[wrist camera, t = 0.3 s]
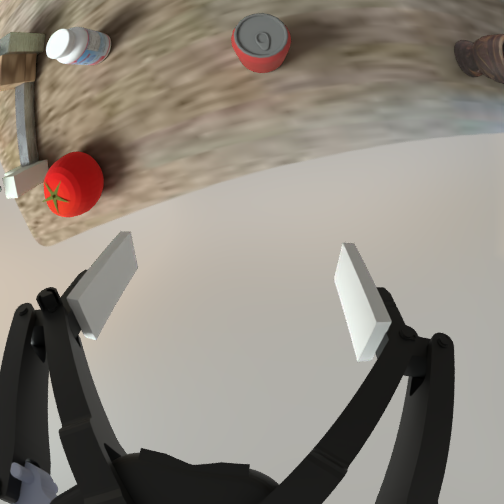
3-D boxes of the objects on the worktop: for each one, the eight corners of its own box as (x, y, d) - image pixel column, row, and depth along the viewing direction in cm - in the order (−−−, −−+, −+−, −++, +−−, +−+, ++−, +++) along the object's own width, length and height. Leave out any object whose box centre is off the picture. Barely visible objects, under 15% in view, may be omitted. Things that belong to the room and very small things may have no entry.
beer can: (245, 78, 34) (238, 68, 23) (233, 40, 30) (221, 17, 20) (290, 68, 32) (300, 55, 22) (278, 30, 29) (283, 4, 19)
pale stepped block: (22, 164, 40) (-9, 180, 31) (47, 159, 40) (13, 176, 31) (25, 181, 42) (-5, 199, 33) (50, 178, 42) (17, 197, 33)
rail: (21, 47, 26) (-24, 50, 15) (45, 34, 26) (-2, 32, 14) (23, 164, 40) (-19, 186, 29) (46, 159, 40) (1, 182, 29)
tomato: (105, 140, 38) (68, 155, 29) (118, 197, 44) (86, 224, 35) (63, 153, 39) (25, 171, 30) (76, 204, 45) (43, 230, 36)
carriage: (20, 61, 27) (-13, 65, 19) (36, 53, 27) (2, 54, 19) (19, 87, 30) (-14, 94, 22) (35, 80, 30) (0, 85, 22)
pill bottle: (82, 68, 31) (40, 68, 22) (86, 37, 28) (45, 31, 18) (111, 61, 31) (70, 57, 22) (114, 29, 28) (75, 18, 18)
